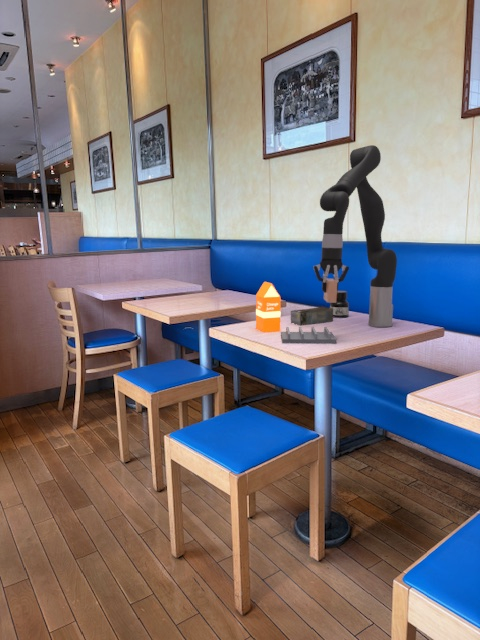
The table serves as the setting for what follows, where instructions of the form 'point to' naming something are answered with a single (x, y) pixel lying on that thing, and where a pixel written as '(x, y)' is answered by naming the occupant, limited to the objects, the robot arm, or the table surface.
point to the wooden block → (331, 291)
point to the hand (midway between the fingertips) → (329, 292)
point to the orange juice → (268, 309)
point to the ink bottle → (340, 305)
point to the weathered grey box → (312, 316)
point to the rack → (308, 336)
